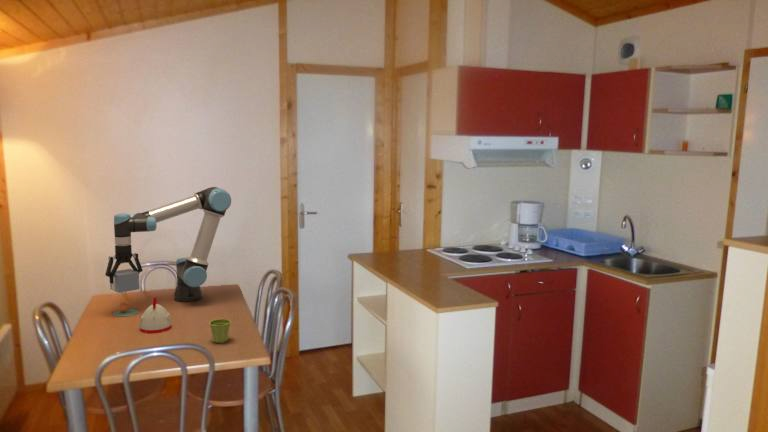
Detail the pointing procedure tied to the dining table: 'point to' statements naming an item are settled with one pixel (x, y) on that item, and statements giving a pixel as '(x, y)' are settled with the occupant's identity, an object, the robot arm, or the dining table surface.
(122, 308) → the ball
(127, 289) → the grey-blue rounded block
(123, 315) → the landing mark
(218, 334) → the plant pot
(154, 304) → the white and red dome
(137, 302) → the dining table surface
